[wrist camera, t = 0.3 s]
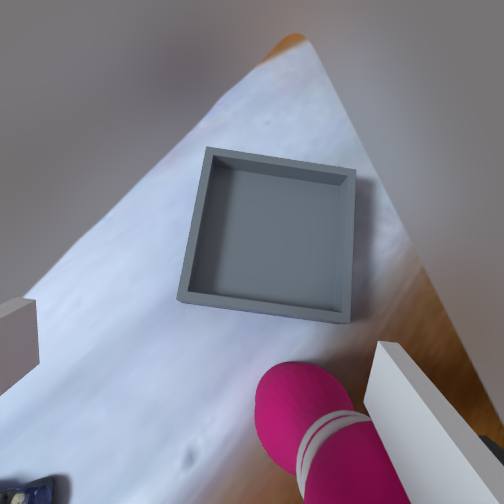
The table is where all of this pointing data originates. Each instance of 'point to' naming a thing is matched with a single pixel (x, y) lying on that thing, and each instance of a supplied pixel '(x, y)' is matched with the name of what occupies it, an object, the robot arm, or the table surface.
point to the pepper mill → (323, 438)
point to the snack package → (30, 493)
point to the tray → (271, 237)
